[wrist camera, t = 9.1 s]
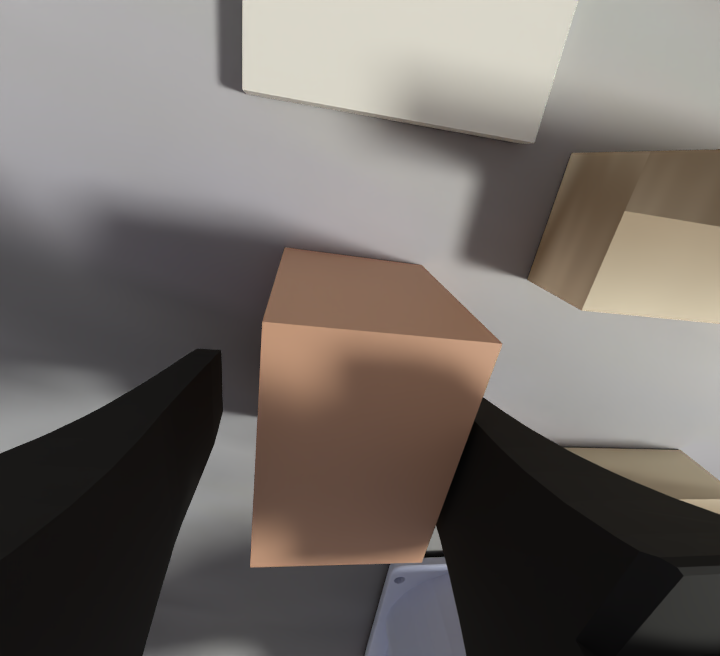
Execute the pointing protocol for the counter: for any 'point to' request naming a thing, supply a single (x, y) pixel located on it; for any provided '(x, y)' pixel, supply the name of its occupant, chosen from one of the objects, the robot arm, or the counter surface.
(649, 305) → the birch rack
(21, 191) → the counter surface
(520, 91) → the white tile
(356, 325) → the terracotta block
